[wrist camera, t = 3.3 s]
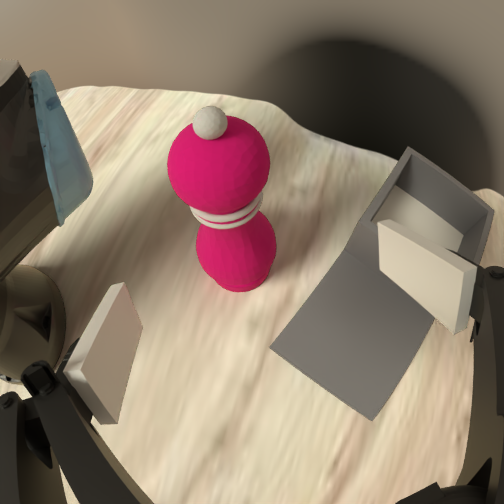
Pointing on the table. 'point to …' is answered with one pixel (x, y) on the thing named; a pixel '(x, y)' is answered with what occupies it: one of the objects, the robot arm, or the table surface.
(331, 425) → the table surface
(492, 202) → the table surface
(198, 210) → the pepper mill
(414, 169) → the box
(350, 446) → the table surface
